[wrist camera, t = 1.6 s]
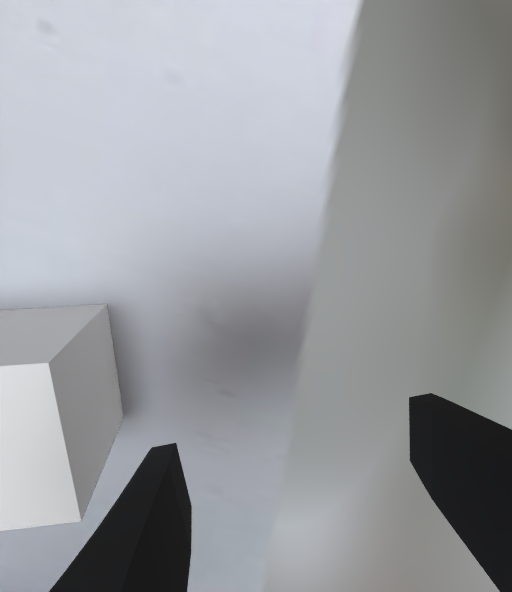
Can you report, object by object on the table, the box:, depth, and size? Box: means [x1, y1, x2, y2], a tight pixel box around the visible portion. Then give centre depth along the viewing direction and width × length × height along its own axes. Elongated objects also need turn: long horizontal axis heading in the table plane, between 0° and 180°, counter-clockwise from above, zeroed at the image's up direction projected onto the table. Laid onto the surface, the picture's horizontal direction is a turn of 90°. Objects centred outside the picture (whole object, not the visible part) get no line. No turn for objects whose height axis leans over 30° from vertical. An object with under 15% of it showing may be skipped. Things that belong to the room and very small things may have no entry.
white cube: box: [0, 304, 124, 531], centre depth 14 cm, size 6×6×6 cm
